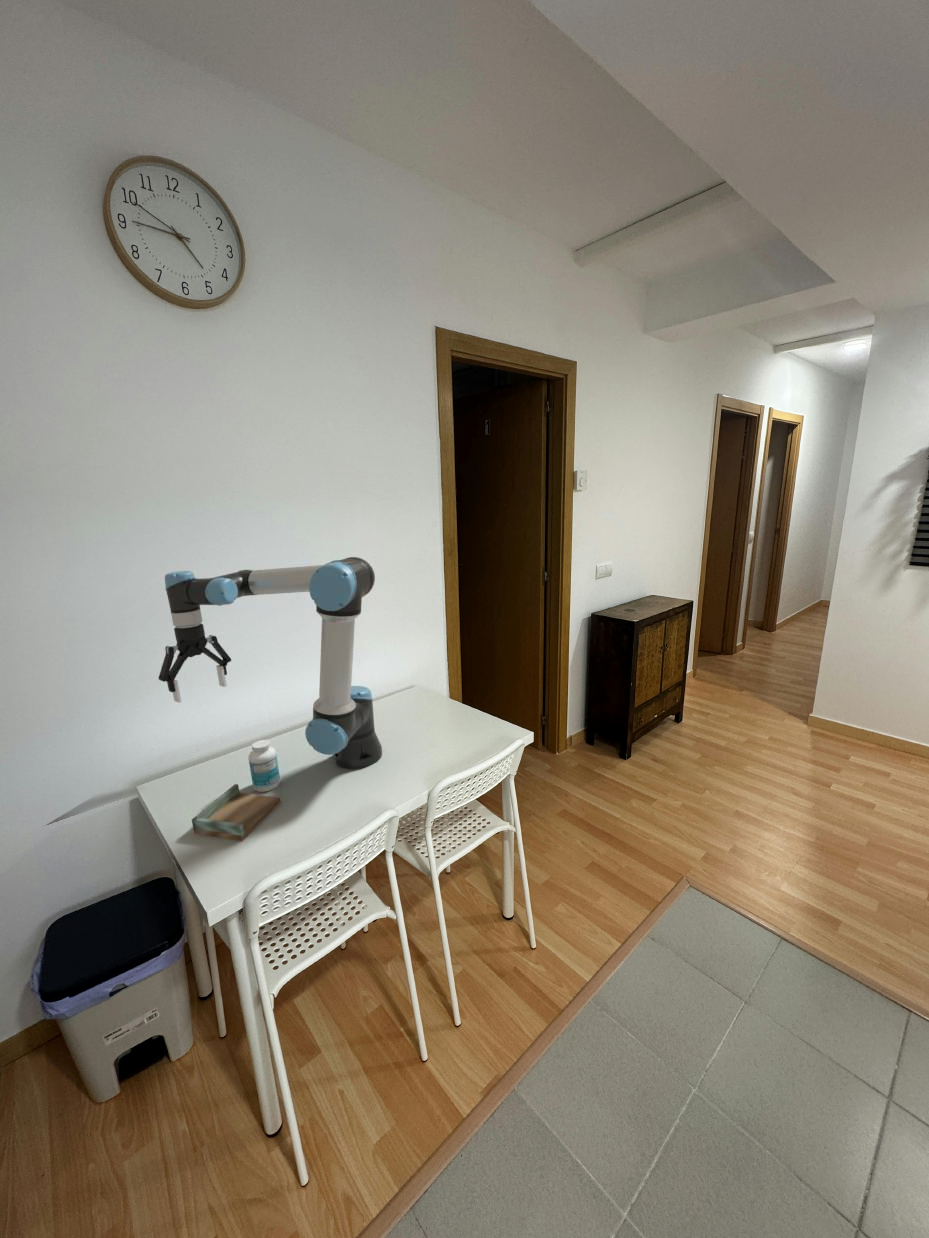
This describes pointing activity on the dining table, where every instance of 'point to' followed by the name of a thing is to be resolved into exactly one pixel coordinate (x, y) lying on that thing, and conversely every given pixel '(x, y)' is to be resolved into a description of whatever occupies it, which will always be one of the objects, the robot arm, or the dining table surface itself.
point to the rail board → (234, 814)
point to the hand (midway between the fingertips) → (201, 693)
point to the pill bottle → (264, 766)
